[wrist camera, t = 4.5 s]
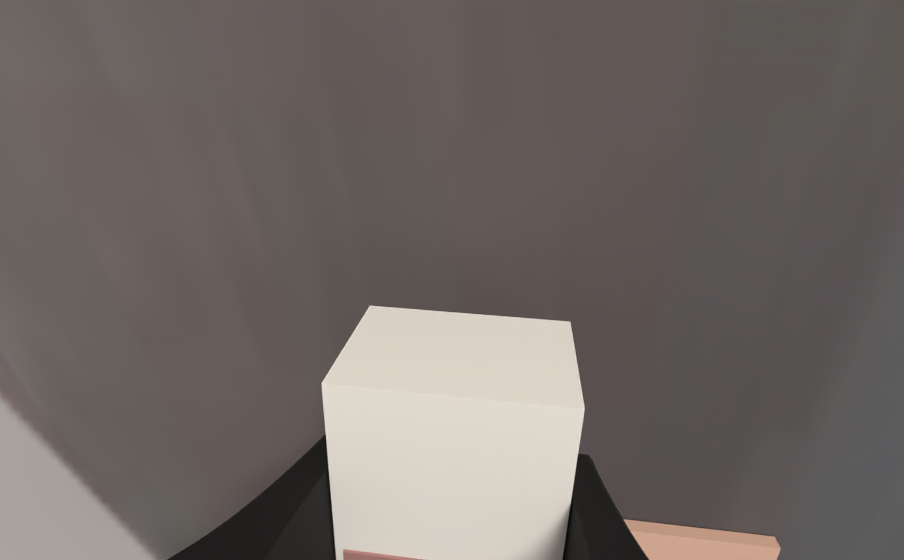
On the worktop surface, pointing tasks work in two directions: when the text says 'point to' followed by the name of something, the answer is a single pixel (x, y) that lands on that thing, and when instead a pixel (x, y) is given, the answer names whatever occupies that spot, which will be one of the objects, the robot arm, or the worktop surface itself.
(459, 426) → the card box
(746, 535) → the mat
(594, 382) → the worktop surface
